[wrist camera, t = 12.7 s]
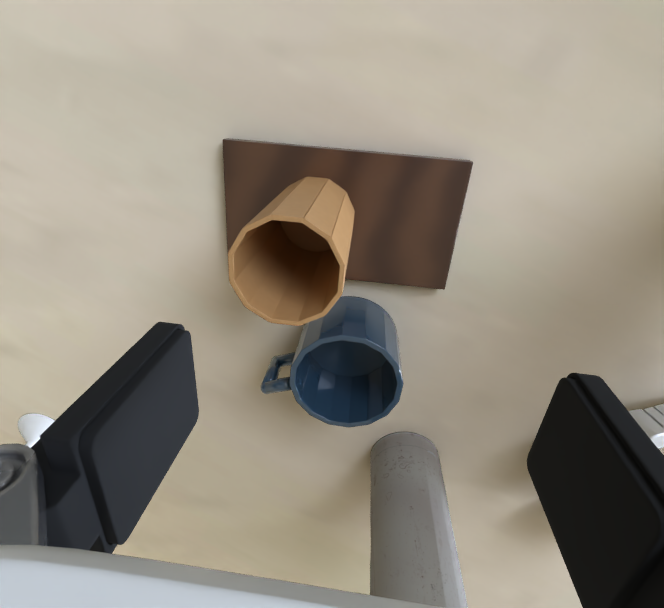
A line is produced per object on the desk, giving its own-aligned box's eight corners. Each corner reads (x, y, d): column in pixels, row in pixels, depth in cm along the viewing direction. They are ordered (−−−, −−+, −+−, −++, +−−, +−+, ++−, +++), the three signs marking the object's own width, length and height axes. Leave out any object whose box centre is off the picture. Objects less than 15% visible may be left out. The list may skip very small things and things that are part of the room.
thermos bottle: (400, 489, 49) (428, 878, 24) (357, 452, 47) (339, 838, 22) (452, 460, 46) (545, 870, 21) (408, 420, 44) (456, 823, 19)
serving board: (469, 160, 32) (473, 161, 31) (442, 284, 37) (444, 289, 36) (227, 138, 33) (222, 139, 32) (232, 262, 38) (228, 266, 37)
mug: (386, 286, 37) (389, 325, 31) (405, 368, 41) (412, 418, 35) (260, 313, 40) (237, 355, 33) (289, 388, 44) (274, 438, 37)
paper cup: (357, 181, 32) (349, 222, 21) (350, 257, 35) (338, 330, 24) (278, 173, 32) (225, 209, 21) (277, 249, 35) (230, 318, 24)
